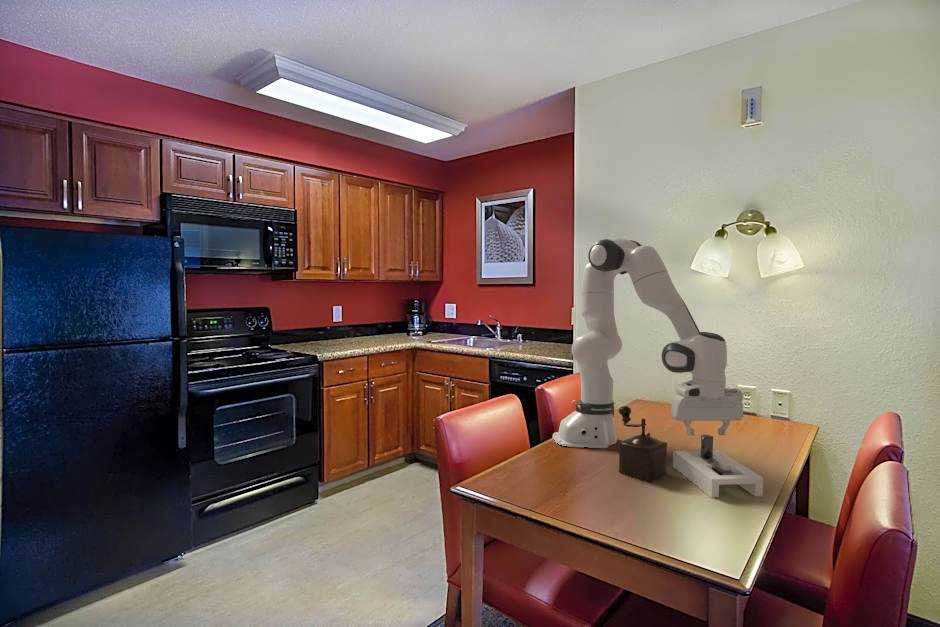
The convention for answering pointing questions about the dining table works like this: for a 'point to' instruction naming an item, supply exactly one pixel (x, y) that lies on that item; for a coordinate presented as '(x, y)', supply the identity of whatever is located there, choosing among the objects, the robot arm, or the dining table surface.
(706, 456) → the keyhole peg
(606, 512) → the dining table surface
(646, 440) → the manual coffee grinder
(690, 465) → the keyhole board
